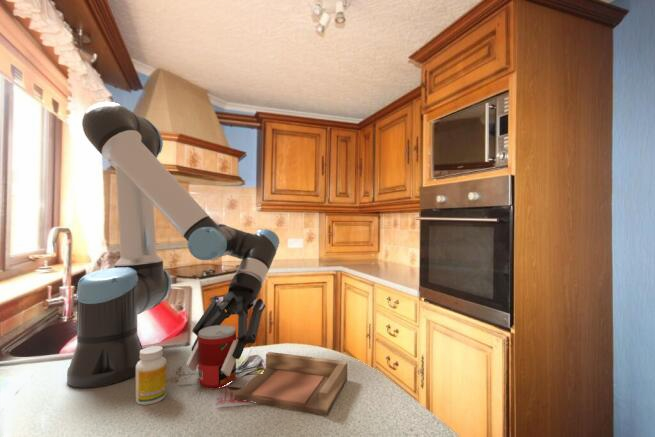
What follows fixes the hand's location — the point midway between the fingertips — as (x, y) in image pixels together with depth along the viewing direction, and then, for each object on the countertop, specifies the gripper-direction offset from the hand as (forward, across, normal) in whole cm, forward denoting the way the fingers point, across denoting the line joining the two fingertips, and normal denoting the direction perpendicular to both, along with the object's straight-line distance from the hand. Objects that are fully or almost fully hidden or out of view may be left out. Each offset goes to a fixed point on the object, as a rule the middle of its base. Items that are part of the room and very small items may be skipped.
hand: (207, 370), depth 69 cm
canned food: (0, 0, -5) cm, 5 cm away
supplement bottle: (+7, +8, +2) cm, 11 cm away
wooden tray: (-1, -18, -6) cm, 19 cm away
